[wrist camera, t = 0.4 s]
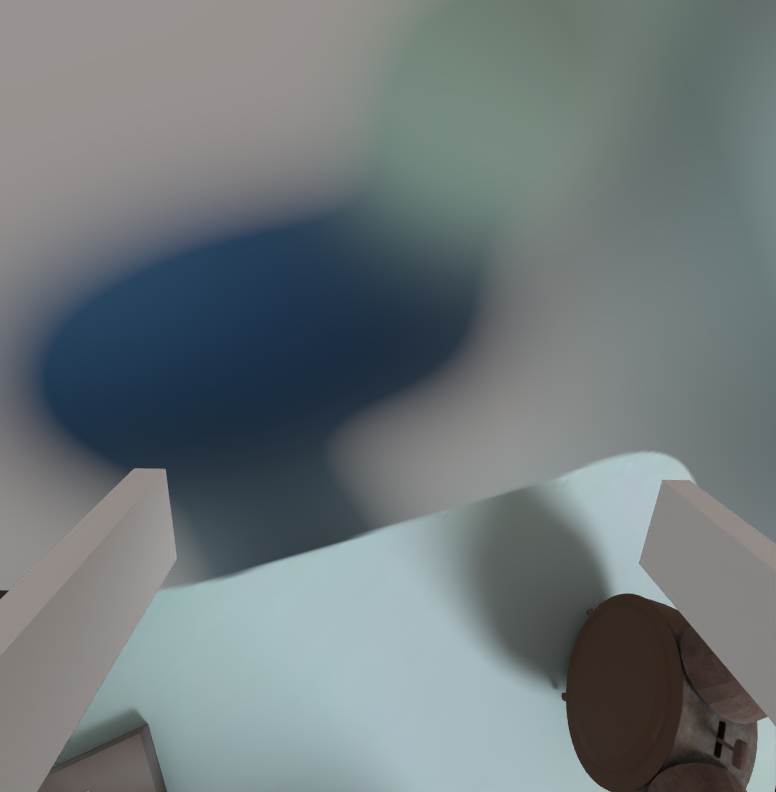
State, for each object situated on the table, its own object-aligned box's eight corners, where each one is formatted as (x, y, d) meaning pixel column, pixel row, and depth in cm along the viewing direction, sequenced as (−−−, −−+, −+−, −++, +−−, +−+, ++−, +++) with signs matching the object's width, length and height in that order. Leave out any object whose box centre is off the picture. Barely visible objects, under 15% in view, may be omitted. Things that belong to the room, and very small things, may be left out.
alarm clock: (609, 754, 42) (837, 984, 22) (538, 723, 42) (704, 923, 22) (650, 600, 45) (880, 683, 26) (584, 571, 45) (764, 631, 26)
